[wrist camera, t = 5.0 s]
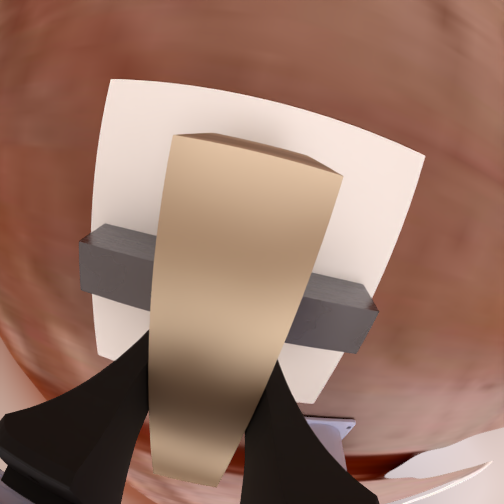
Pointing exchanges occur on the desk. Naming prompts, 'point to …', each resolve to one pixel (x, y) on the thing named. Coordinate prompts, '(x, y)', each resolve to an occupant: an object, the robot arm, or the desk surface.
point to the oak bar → (226, 290)
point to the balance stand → (266, 132)
